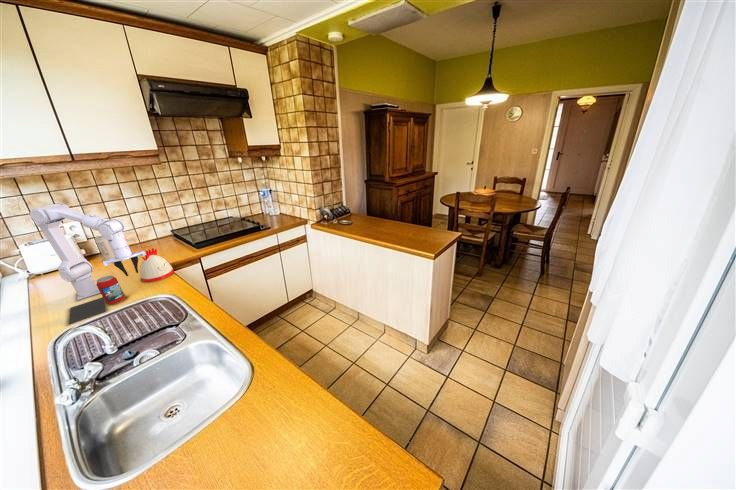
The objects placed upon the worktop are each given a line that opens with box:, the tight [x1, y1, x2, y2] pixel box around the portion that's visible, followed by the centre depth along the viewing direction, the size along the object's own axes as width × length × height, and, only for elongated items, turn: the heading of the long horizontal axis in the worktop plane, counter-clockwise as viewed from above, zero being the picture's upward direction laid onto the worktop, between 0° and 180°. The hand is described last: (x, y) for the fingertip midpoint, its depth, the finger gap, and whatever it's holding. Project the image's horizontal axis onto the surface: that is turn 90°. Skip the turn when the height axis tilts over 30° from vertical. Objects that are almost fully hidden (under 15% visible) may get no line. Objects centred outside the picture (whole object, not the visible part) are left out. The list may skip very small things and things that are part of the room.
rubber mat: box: [68, 296, 106, 325], centre depth 116 cm, size 16×11×1 cm
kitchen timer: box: [139, 247, 175, 283], centre depth 140 cm, size 14×14×15 cm
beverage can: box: [96, 275, 126, 305], centre depth 119 cm, size 7×7×12 cm
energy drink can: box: [94, 235, 115, 261], centre depth 165 cm, size 6×6×15 cm
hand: (132, 273), depth 123 cm, fingers open, 3 cm apart
